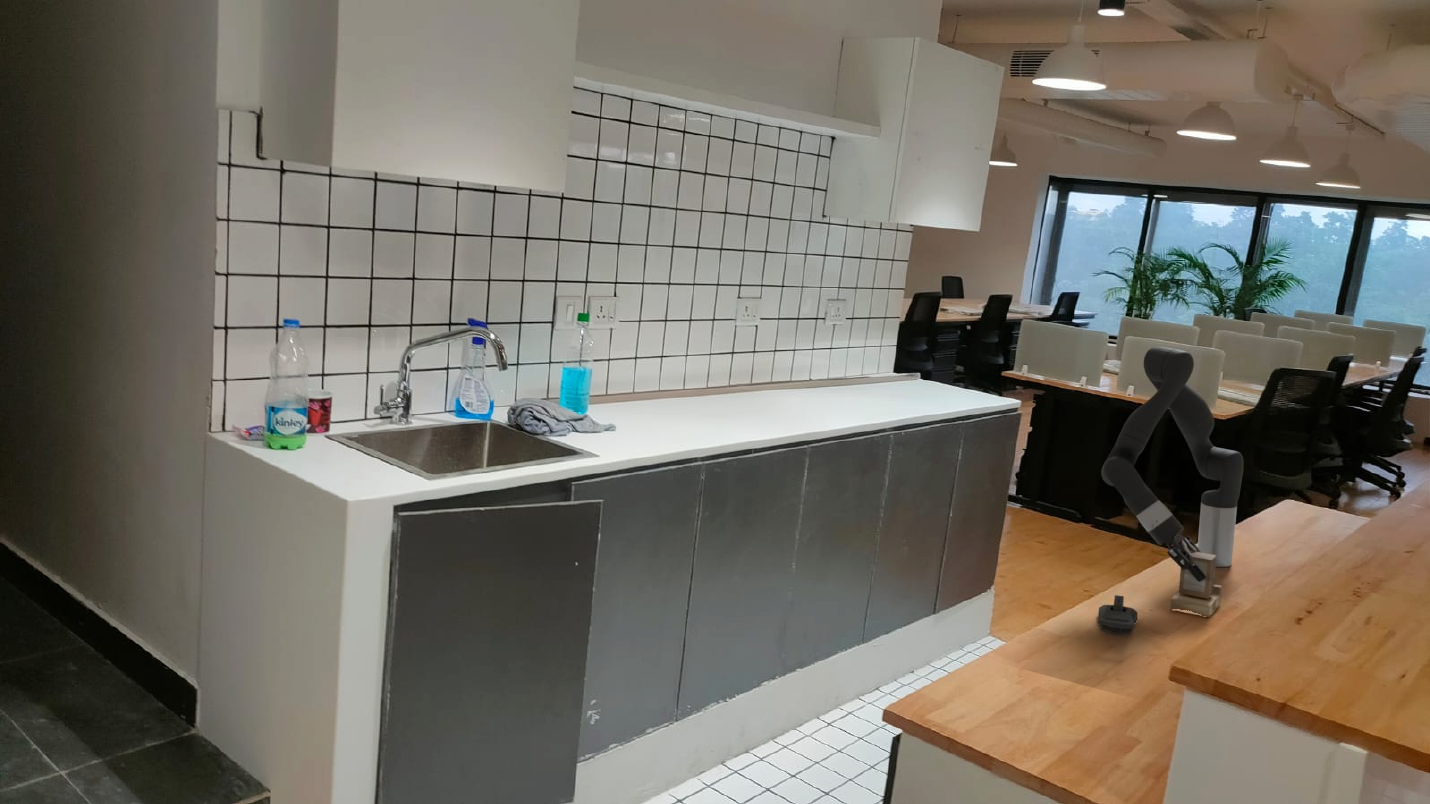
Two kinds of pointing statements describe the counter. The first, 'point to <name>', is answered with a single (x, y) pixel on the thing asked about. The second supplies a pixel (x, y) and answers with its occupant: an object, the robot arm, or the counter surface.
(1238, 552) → the counter surface
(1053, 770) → the counter surface
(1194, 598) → the ledge
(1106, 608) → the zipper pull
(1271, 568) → the counter surface
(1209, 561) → the frame
